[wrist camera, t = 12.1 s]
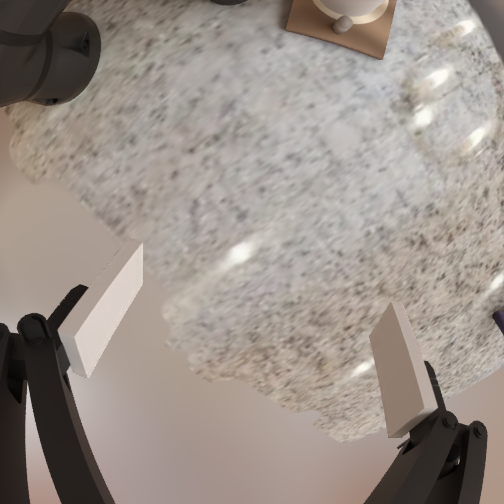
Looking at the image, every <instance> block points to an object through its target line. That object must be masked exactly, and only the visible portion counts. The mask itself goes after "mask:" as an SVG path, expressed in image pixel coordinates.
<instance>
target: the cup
mask: <svg viewBox="0 0 504 504" xmlns="http://www.w3.org/2000/svg"><path fill="white" fill-rule="evenodd" d="M384 1H386V0H320V2H321V3H322V4H323V5H324V6H326V7H327V8H328V9H330V10H331V11H333V12H335V13H338V14H340V15H344V16H349V17H359V16H364V15H367V14H369V13H371V12H372V11H373V10H375V9H376V8H377V7H378V6H379V5H381V4H382V3H383V2H384Z"/></svg>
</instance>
